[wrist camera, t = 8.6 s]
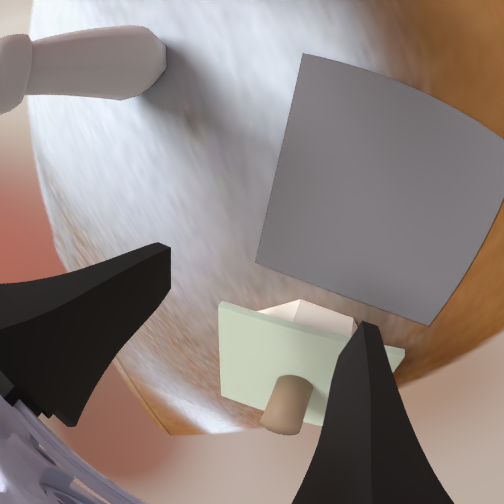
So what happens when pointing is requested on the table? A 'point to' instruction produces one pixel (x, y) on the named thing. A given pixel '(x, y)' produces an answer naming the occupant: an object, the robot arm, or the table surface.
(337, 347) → the cover
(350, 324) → the bowl
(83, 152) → the table surface
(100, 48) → the salt shaker
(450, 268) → the mat
